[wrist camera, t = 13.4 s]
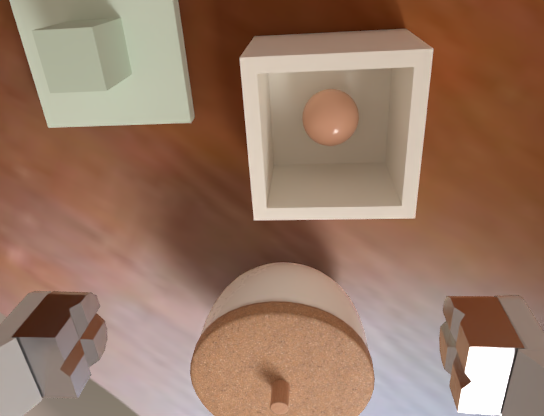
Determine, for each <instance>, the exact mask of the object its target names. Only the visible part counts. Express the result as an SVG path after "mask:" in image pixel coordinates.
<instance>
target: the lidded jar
mask: <svg viewBox="0 0 544 416" xmlns="http://www.w3.org/2000/svg"><path fill="white" fill-rule="evenodd" d="M190 374H191V380H192V384H193V387H194V389H195V392H196V394H197V396H198V397H199V399H200V400H201V402H202V403H203V405H204V406H205V407H206V408H207V409H208V410H209V411H210V412H211V413H212V414H213V415H214V416H358V415H359V414H360V413H361V412H362V411H363V410H364V408H365V407H366V405H367V404H368V402H369V400H370V398H371V395H372V392H373V389H374V380H375V379H374V371H373V364H372V359H371V356H370V353H369V350H368V345H367V340H366V335H365V332H364V329H363V326H362V323H361V320H360V317H359V314H358V312H357V310H356V308H355V306H354V304H353V303H352V301H351V299H350V298H349V296H348V295H347V294H346V293H345V292H344V290H343V289H342V288H341V287H340V286H339V285H338V284H337V283H336V282H335V281H334V280H333V279H331V278H330V277H328V276H327V275H325V274H324V273H322V272H320V271H319V270H316V269H314V268H312V267H309V266H306V265H302V264H298V263H290V262H277V263H269V264H265V265H261V266H258V267H256V268H253V269H251V270H249V271H247V272H245V273H243V274H242V275H240V276H238V277H237V278H236V279H235V280H234V281H233V282H232V283H230V284H229V285H228V286H227V287H226V288H225V289H224V291H223V292H222V293H221V294H220V296H219V297H218V299H217V300H216V302H215V303H214V305H213V307H212V309H211V311H210V313H209V315H208V317H207V319H206V321H205V324H204V327H203V330H202V333H201V336H200V338H199V340H198V342H197V344H196V347H195V350H194V353H193V357H192V361H191V370H190Z"/></svg>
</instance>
